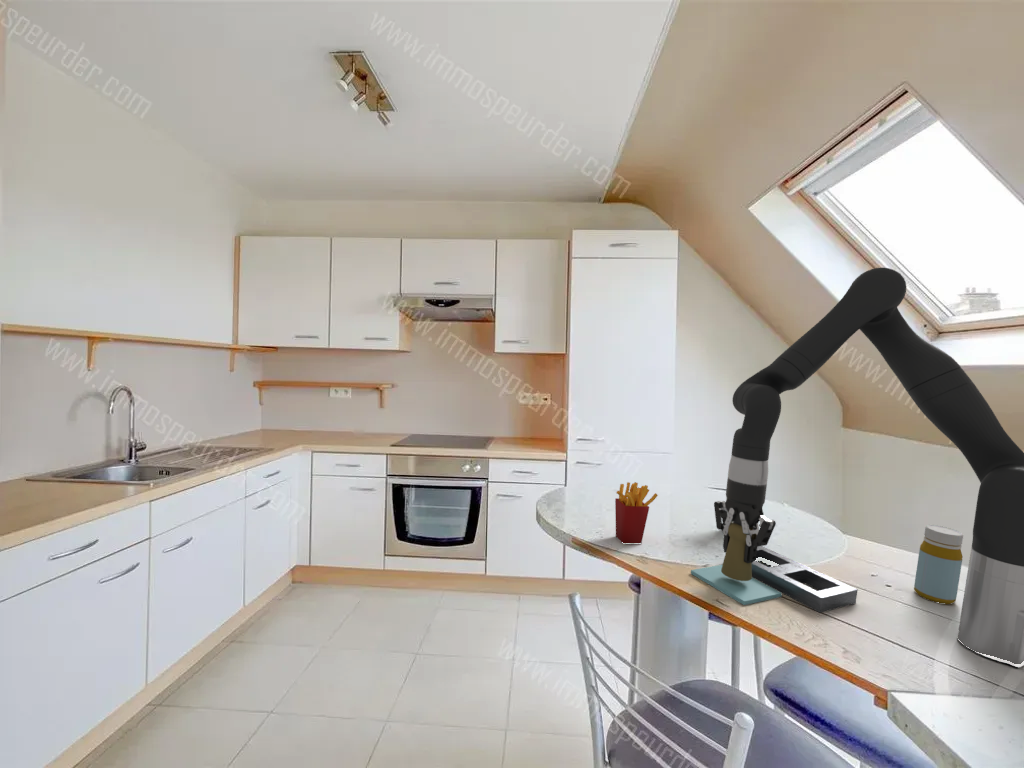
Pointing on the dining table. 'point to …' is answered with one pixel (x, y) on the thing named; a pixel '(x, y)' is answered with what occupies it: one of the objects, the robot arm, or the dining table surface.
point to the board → (736, 586)
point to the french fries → (631, 513)
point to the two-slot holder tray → (794, 574)
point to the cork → (736, 555)
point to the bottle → (939, 564)
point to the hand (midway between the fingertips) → (738, 556)
